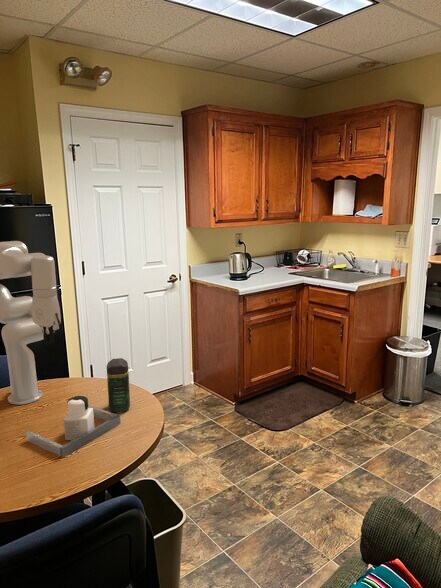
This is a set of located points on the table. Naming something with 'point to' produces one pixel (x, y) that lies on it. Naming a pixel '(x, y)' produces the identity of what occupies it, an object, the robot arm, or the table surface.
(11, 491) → the table surface
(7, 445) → the table surface
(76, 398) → the container
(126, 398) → the coffee jar
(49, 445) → the bracket
